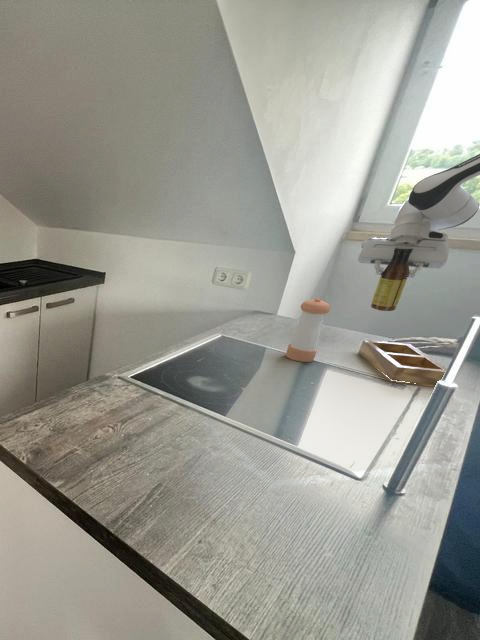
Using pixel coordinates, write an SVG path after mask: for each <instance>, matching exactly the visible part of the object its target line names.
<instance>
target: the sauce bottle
mask: <svg viewBox="0 0 480 640" xmlns="http://www.w3.org/2000/svg"><path fill="white" fill-rule="evenodd" d="M412 250H413V248H411V247H396V248H395V250H394V255H393V258H392V260H391V262H390V263H389V265H386V267H385V269H383V272H382V274H381V275H380V277H379V280H378V283H377V286H376V289H375V291H374V293H373V297H372V300H371V304H370V308H372V309H374V310H378V311H382V312H383V311H384V312H393V311H395V310H396V309H397V306H398V305H399V302H400V300H401V296H402V294H403V291H404V288H405V286H406V283H407V280H408V277H407V276H408V274H409V271H410V267H409V266H408V264H407V262H408V259H409V256H410V254H411V252H412Z"/></svg>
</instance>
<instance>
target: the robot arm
mask: <svg viewBox="0 0 480 640" xmlns="http://www.w3.org/2000/svg"><path fill="white" fill-rule="evenodd" d="M479 176H480V153H478V154H476V155H474V156H472V157H470V158H468V159H466V160H464V161H462V162H460V163H458V164H456V165H454V166H452V167H450V168H447V169H445V170H442V171H439V172H437V173H434V174H432V175H429V176H427V177H425V178H423V179H421V180H419V181H418V182H417V183H416V184H415V185H414V186H413V187H412V189H411V190H410V192H409V195H408V198H407V199H406V200H405V201H404V202H403V204H402V205H401V206H400V208H399V210H398V211H397V214H396V216H395V218H394V222H393V228H392V229H391V231H390V233H389V236H388V237H387V238H383V237H382V238H381V237H380V238H377V237H370V238H367V239H365V240H364V241H362V242H361V243H362V244H361V248H362V249H361V250H360V253H359V255H358V257H357V261H358V262H359V263H360V264H366V265H367V264H370V265H373V268H374V269H375V275H379V276H381V274H382V272H383V271H384V270H385V269H384V268H385V267H382V266H388V265H389V263H390V262H391V260H392V258H393V255H394V250H395V248H396V247H411V248H413V250H412V252H411V254H410V256H409V259H408V262H407V264H408V266H409V268H414V269H409V274H408V276H407V278H415V276H416V274H417V273H419V272H420V271H422V269H435V270H439V269H442V268H444V267H445V265H446V264H447V262H448V258H449V253H450V246H449V244H448V243H447V242H448V239H449V235H448V233H444V232H440V230H441V231H442V230H447V229H450V228H451V229H452V228H455V227H458V226H461V225H463V224H466V223H467V222H469V220H471V219H472V218H473V217H474V216H475V215H476V214H477V212H478V211H479V208H480V203H479V202H478V201H477V200H476V198H475V197H474V196H473V195H472V194H471V193H470V192H468V191H467V190H466V189H465V188H464V187H463V186H462V184H464V183H467V182H468V181H470V180H472V179H475V178H477V177H479Z"/></svg>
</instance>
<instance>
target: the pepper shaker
mask: <svg viewBox="0 0 480 640" xmlns="http://www.w3.org/2000/svg"><path fill="white" fill-rule="evenodd" d="M300 311H302V312H301V315H300V318H299V321H298V324H297V325H296V328H295V330H294V332H293V333H292V337H291V340H290V343H289V344H288V346H287V349H286V352H285V357H287V358H288V359H290V360H292V361H297V362H300V363H301V362H302V363H312V362H314V360H315V358H316V356H317V355H316V354H317V351H318V348H317V347H318V344H319V342H320V336H321V328H322V325H323V321H324V319H325V315H326V314H328V313H329V312H330V311H331V305H330V303H328V302H326V301H323V300H322V299H321V298H319V297H316V298H314V299H308V300H305V301H302V303H301V305H300Z"/></svg>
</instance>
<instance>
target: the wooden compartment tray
mask: <svg viewBox="0 0 480 640" xmlns="http://www.w3.org/2000/svg"><path fill="white" fill-rule="evenodd" d="M358 355H360V356H361V357H362V358H363V359H364V360H366V362H368V363H369V364H370V365H371V366H372V367H374V368H375V369H376V370H377V371H378V372H379V373H380V374H381V375H383V376H384V377H385V378H386V379H387V381H389V382H390V383H397V384H403V385H405V384H406V385H413V386H423V387H431V388H436V387H435V385H436V383H437V381H439V380H441V379H442V377H443V375H444V373H445V371H446V370H447V368H448V367H446V366H444V365H443V364H441V363H440V362H439V361H437V360H435V359H434V358H432V357H431V356H429V355H428V354H427V353H425V352H423V351H421V350H420V349H419V348H417V347H415V346H414V345H412V344H411V343H404V342H392V341H380V340H379V341H378V340H371V339H370V340H369V339H363V340H362V343H361V346H360V347H359V351H358ZM378 369H379V370H378ZM382 372H383V373H384V374H385V375H387V376H388V377H389V378H390V379H392V380H397V381H405V382H410V383H405V382H396V381H391V380H390V379H389V378H388V377H386V376H385V375H384V374H383V373H382ZM414 383H416V384H414Z"/></svg>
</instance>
